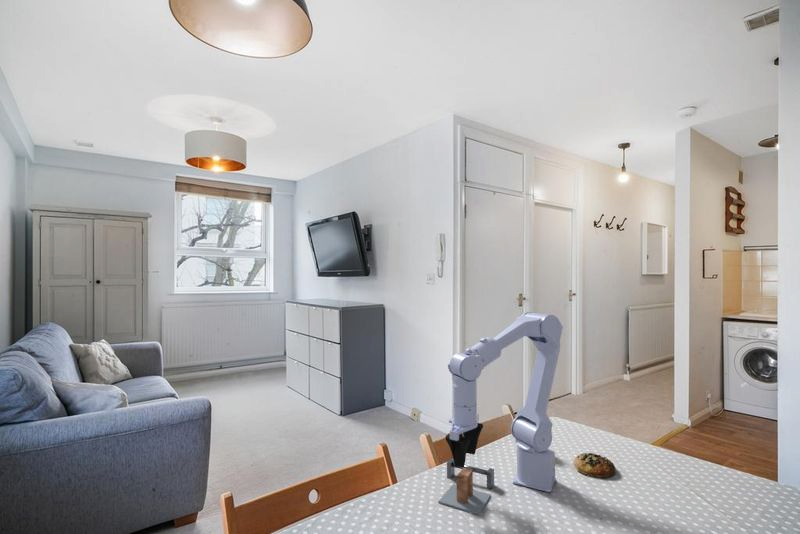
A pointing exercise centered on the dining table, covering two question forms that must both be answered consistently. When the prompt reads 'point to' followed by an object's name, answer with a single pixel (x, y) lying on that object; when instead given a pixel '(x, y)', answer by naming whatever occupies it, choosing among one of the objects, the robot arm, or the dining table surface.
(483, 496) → the mat
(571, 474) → the dining table surface
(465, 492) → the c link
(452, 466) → the bar stand
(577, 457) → the bread roll
